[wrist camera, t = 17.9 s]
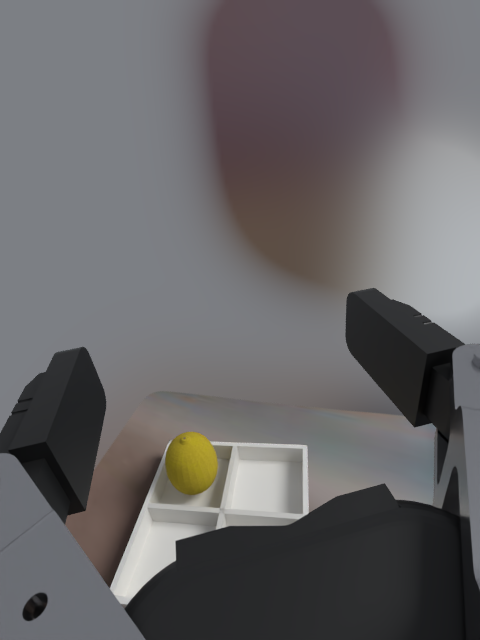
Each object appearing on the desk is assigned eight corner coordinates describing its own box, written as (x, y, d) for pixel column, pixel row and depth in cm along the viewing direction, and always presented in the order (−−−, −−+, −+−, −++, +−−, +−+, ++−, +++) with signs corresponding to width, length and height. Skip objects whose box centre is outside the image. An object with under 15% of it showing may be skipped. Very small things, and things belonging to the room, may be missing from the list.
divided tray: (311, 645, 27) (310, 629, 26) (115, 617, 30) (104, 601, 29) (307, 462, 41) (307, 445, 40) (174, 456, 44) (169, 440, 43)
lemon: (164, 500, 39) (146, 451, 35) (191, 460, 43) (177, 412, 39) (207, 517, 36) (193, 467, 32) (230, 473, 41) (220, 424, 37)
